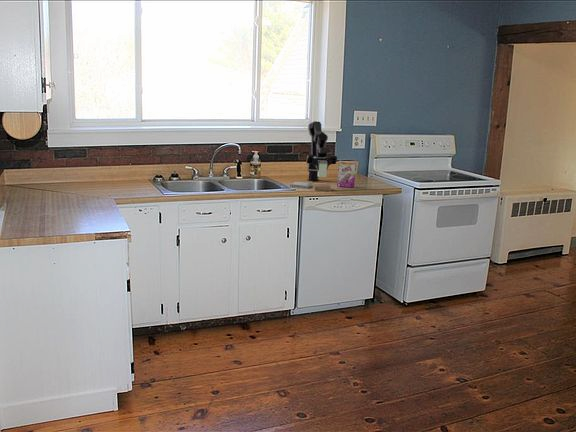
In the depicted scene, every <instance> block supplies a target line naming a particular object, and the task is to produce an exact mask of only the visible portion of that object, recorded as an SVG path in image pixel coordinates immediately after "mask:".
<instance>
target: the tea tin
mask: <svg viewBox="0 0 576 432" xmlns="http://www.w3.org/2000/svg"><path fill="white" fill-rule="evenodd" d="M318 166H319V171H318V178H327V175H328V174H327V173H328V170H327V161H320V162H318Z"/></svg>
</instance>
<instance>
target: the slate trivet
mask: <svg viewBox="0 0 576 432" xmlns="http://www.w3.org/2000/svg"><path fill="white" fill-rule="evenodd" d="M313 184H315V183H314V182H306V181H305V182H303V181H294V182H292V183H290V184H289V187H290V186H292V187H293V188H299V187H300V189H309V188H313ZM292 187H291V188H292Z"/></svg>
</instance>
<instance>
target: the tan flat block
mask: <svg viewBox="0 0 576 432" xmlns="http://www.w3.org/2000/svg"><path fill="white" fill-rule="evenodd" d="M331 187H332V186H331V185H330V184H329V183H314V184H313V186H312V189H313V190H314V191H321V192H331V189H332V188H331Z"/></svg>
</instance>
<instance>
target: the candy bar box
mask: <svg viewBox="0 0 576 432" xmlns="http://www.w3.org/2000/svg"><path fill="white" fill-rule="evenodd" d="M337 168H338V171H337V180H336V181H337V182H336V183H337V185H336V187H341V188H355V183H356V182H355V180H356V179H355V178H356V168H357V162H356V161H345V160H339V161H338V167H337Z"/></svg>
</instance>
